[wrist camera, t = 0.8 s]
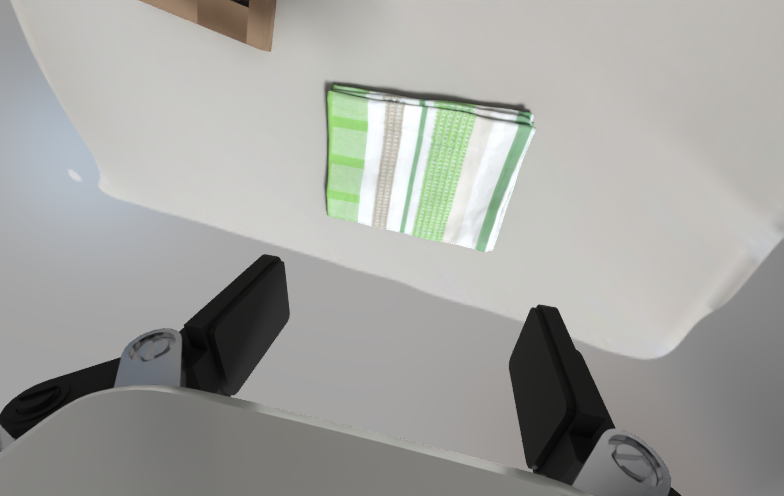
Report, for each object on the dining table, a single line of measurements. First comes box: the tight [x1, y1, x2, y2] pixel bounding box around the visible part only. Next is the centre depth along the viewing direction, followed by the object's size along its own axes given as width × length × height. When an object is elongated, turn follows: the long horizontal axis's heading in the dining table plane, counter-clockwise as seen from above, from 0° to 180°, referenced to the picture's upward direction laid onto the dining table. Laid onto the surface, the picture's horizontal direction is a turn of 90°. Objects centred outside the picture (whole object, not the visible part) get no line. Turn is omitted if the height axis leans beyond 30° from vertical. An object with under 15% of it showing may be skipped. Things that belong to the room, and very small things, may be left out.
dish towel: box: [326, 85, 536, 252], centre depth 36 cm, size 17×23×4 cm
